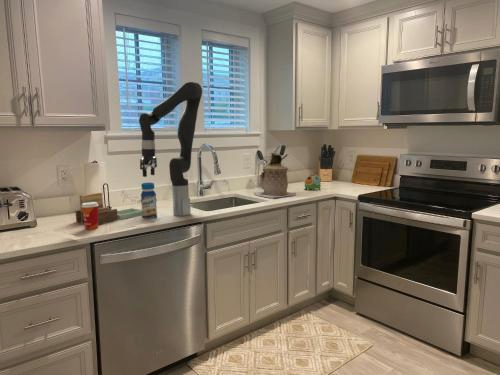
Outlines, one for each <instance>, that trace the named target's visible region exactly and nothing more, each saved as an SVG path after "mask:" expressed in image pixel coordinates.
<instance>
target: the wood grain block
mask: <svg viewBox="0 0 500 375" xmlns="http://www.w3.org/2000/svg"><path fill="white" fill-rule="evenodd" d="M87 202H97V203H98V208H103V207H104V201H103V193H102V192H93V193H88V194H87V193H86V194H81V195H79V203H80V210H81V212H83V210H82V207H81V206H82V204H83V203H86V204H87Z"/></svg>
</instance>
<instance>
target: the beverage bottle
mask: <svg viewBox="0 0 500 375" xmlns="http://www.w3.org/2000/svg"><path fill="white" fill-rule="evenodd" d="M141 190H142V192H141V194H140V198H141V199H140V203H141V210H142V216H141V218H143V219H155V220H157V219H158V211H157V210H158V209H157V197H156V196H157V194H156V192H155V183H154V182H142V183H141Z"/></svg>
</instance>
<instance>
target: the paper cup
mask: <svg viewBox="0 0 500 375" xmlns="http://www.w3.org/2000/svg"><path fill="white" fill-rule="evenodd" d="M81 207H82V210H83V217H84V224H83V225H84V228H85V230H86V231H93V230H97V229H99V224H98V203H97V202H87V204H86V203H83V204H82V206H81ZM81 207H80V208H81Z"/></svg>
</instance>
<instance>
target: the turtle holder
mask: <svg viewBox="0 0 500 375" xmlns="http://www.w3.org/2000/svg"><path fill="white" fill-rule="evenodd" d="M321 181H322V178H321V177H320V176H318V175H317V174H309V175H307V177H306V178H305V179H304V191H305V190H308V189H309V190H310V189H311V191H312V192H314V191H315V189H318V191H321V187H322V186H321V184H322V183H321Z"/></svg>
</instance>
